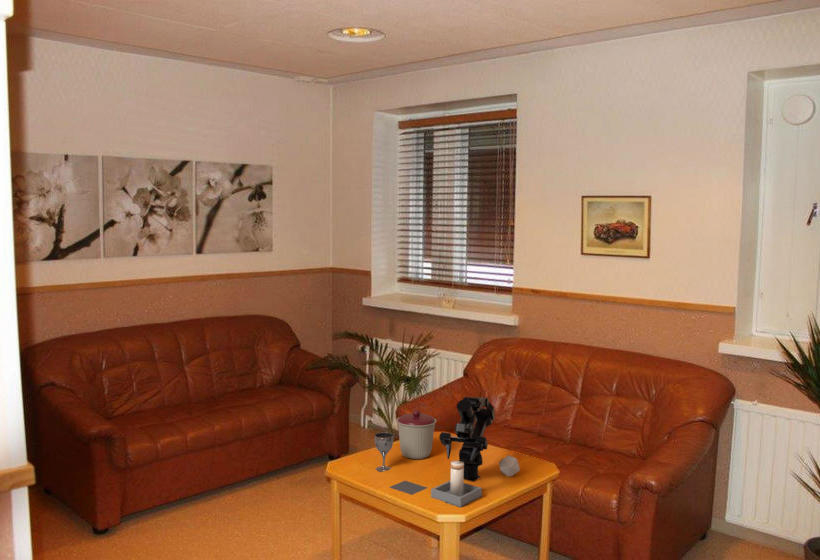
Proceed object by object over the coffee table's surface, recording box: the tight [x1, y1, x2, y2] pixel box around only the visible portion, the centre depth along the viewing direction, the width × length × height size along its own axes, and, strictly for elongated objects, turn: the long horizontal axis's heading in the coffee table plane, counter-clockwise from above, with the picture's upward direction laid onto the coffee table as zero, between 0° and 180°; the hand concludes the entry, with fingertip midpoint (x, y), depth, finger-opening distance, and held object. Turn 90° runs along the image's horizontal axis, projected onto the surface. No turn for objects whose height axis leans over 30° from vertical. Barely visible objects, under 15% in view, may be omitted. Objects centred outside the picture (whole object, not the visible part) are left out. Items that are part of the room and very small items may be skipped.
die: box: [498, 454, 521, 477], centre depth 309 cm, size 8×9×10 cm
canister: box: [395, 409, 437, 460], centre depth 331 cm, size 18×18×21 cm
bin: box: [430, 480, 483, 508], centre depth 283 cm, size 14×14×4 cm
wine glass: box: [374, 431, 394, 473], centre depth 313 cm, size 8×8×15 cm
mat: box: [388, 480, 428, 496], centre depth 292 cm, size 10×12×1 cm
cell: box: [449, 460, 464, 497], centre depth 283 cm, size 5×5×14 cm
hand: (459, 460), depth 286 cm, fingers open, 9 cm apart
